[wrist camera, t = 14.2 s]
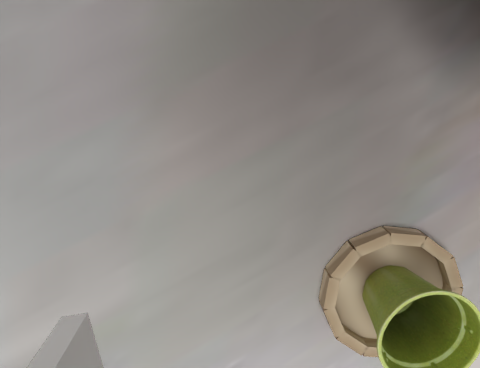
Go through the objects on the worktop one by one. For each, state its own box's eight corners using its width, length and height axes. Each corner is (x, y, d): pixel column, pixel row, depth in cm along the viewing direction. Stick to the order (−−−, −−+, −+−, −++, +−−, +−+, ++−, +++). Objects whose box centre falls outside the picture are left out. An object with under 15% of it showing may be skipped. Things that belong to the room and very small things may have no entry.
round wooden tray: (380, 201, 39) (388, 207, 37) (476, 274, 42) (489, 283, 40) (294, 303, 41) (297, 314, 40) (390, 366, 44) (397, 378, 42)
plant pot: (329, 284, 41) (357, 335, 32) (402, 232, 39) (451, 271, 31) (375, 342, 43) (413, 404, 34) (447, 294, 42) (504, 346, 33)
